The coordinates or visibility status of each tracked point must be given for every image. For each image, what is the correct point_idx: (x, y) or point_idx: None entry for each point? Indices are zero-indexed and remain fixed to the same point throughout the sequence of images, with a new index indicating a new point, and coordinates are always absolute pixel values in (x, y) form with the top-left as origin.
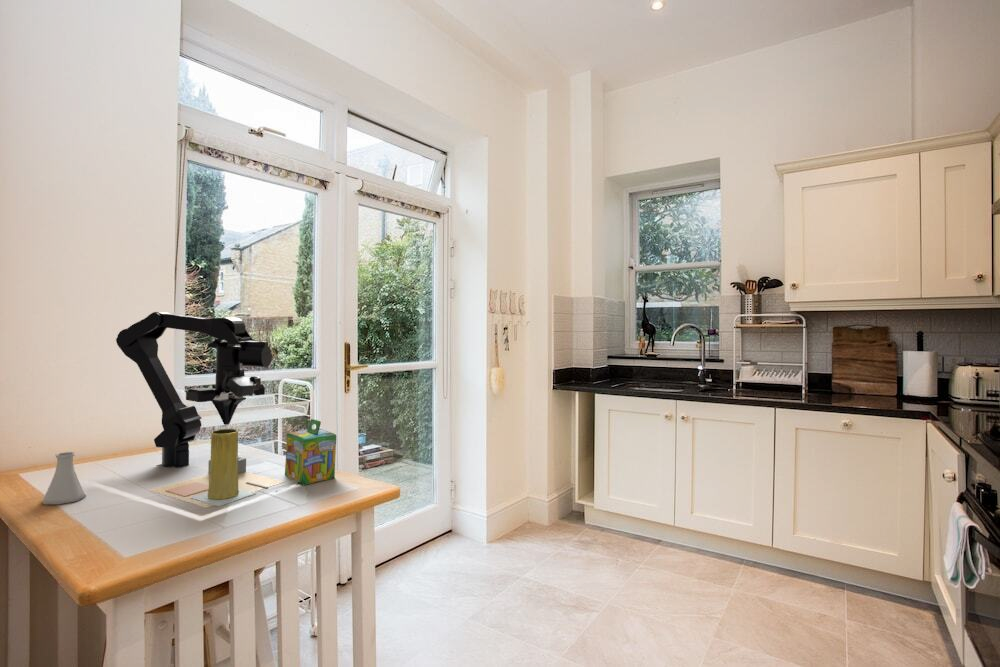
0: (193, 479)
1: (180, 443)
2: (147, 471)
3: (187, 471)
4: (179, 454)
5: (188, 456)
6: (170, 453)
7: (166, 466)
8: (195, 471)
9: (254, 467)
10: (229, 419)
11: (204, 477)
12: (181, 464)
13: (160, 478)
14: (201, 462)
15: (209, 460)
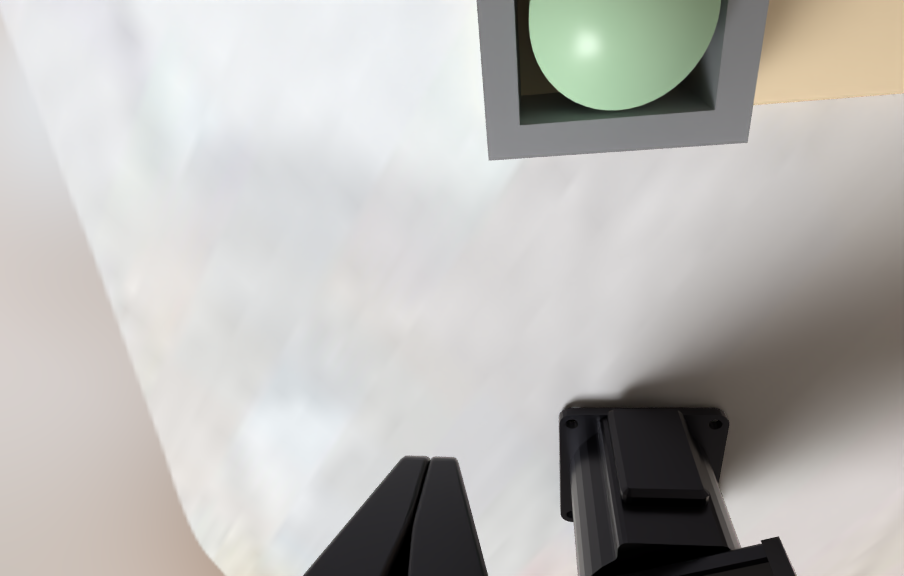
0: (882, 63)
1: (688, 569)
2: (773, 494)
3: (662, 344)
4: (701, 479)
5: (623, 452)
6: (729, 525)
7: (711, 466)
8: (635, 308)
9: (311, 67)
10: (396, 514)
11: (796, 41)
12: (665, 420)
13: (860, 339)
14: (490, 433)
15: (747, 131)
